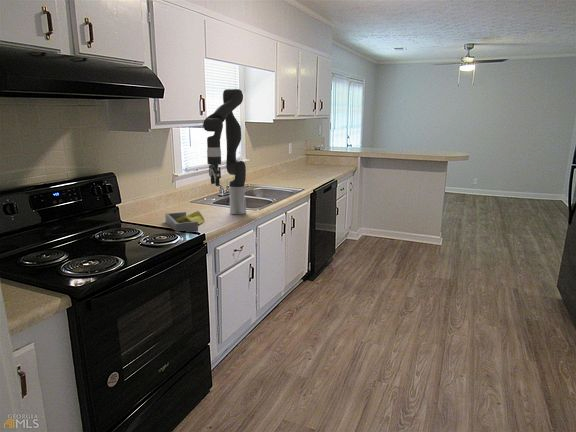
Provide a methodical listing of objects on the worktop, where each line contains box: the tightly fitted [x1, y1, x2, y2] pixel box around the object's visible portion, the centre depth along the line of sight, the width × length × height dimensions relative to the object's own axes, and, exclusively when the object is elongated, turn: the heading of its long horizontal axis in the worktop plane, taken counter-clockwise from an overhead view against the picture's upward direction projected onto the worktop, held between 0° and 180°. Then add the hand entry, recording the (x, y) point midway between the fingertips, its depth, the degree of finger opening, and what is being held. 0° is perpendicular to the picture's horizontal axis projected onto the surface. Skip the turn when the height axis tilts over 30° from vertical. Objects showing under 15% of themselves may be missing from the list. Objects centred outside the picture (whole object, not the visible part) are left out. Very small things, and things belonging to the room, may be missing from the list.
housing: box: [164, 211, 199, 233], centre depth 225 cm, size 12×28×5 cm, turn 27°
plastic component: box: [175, 210, 206, 225], centre depth 229 cm, size 20×7×10 cm
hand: (215, 184), depth 230 cm, fingers open, 8 cm apart
